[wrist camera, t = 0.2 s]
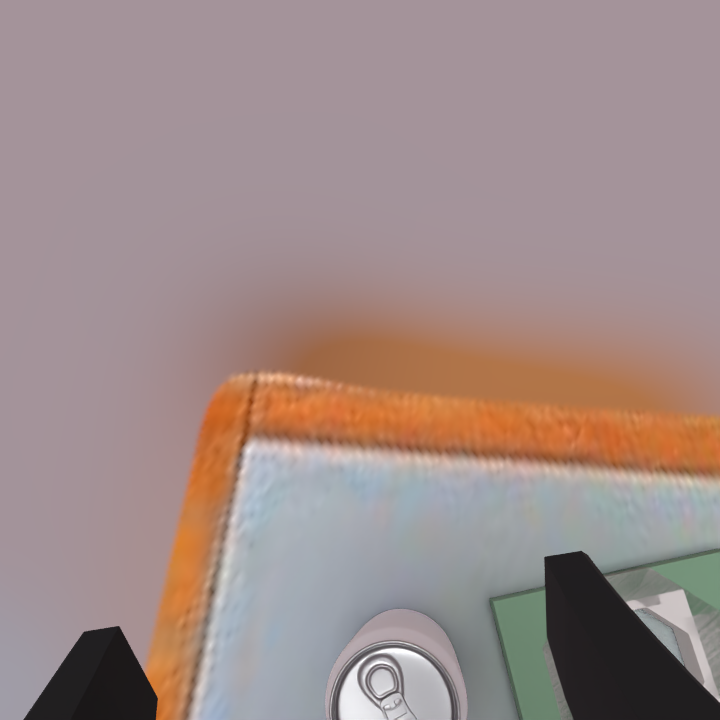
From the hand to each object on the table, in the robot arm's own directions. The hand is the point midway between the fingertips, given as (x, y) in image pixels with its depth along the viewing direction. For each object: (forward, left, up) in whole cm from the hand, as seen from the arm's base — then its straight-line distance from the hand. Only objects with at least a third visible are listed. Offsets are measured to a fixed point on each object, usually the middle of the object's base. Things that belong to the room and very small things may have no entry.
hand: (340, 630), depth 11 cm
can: (-5, +1, -31) cm, 32 cm away
